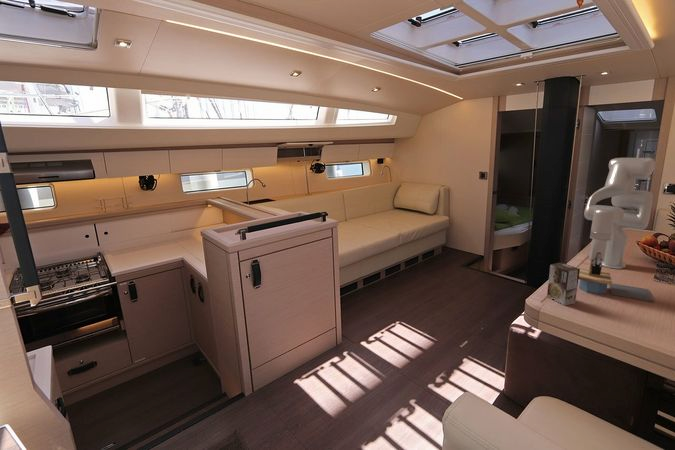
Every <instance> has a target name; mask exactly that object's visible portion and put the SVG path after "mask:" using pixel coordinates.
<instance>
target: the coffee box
mask: <svg viewBox="0 0 675 450" xmlns="http://www.w3.org/2000/svg"><path fill="white" fill-rule="evenodd" d="M580 269H581V268H579V267H578V268H577V267H575V266H573V265H570V264H567V263H564V262H556V263H552V264H551V263H550V266H549V275H548V285H547V293H546V297H547V296H548V297H549V298H548V297H547V298H548V299H550V298H551V299H550V300H552V299H554V300H555V302H556V301H557V302H556V303H558V302H559V303H558V304H560V303H561V304H560V305H562V304H563V305H562V306H569V305H574V304H575V303H576V300H577V292H578V287H579V272H580ZM554 300H553V301H554Z"/></svg>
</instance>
